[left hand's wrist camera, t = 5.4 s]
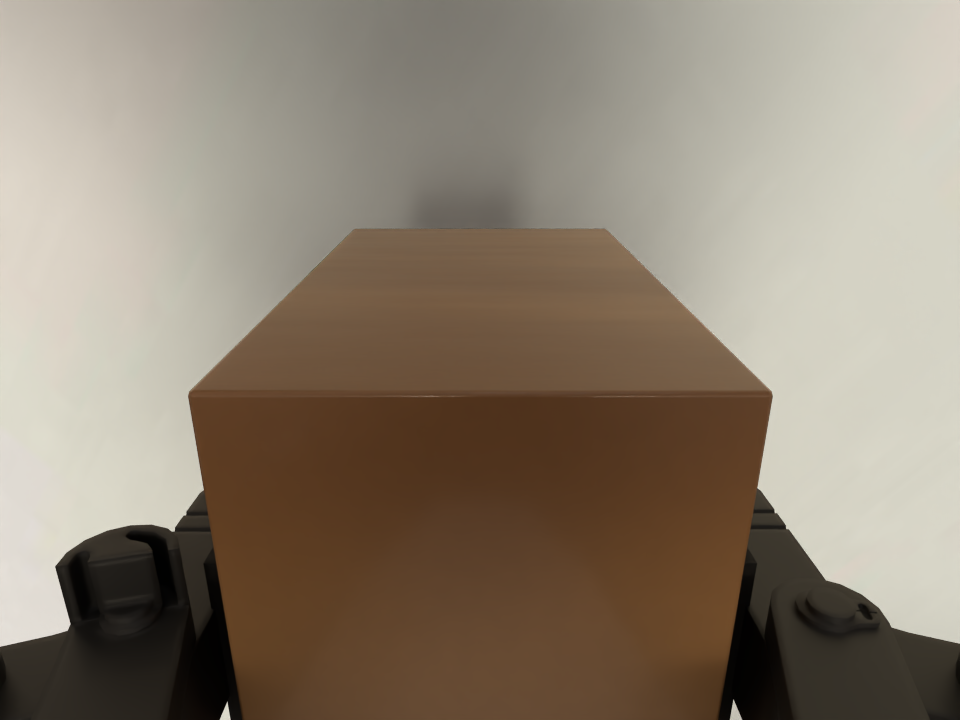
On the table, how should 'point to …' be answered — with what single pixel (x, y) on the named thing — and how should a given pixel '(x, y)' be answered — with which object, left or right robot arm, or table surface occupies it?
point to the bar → (480, 485)
